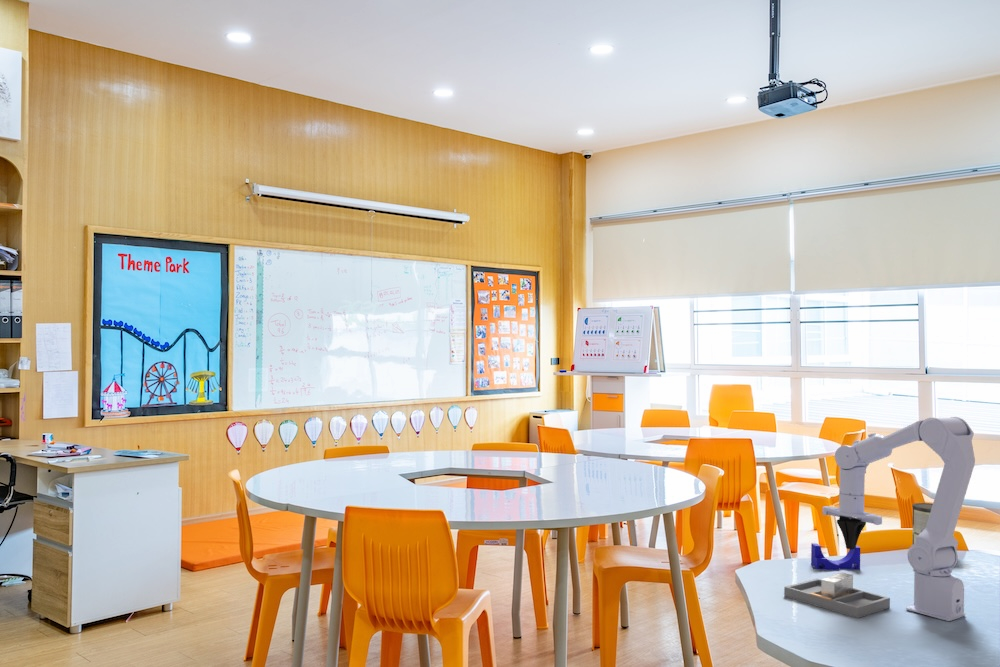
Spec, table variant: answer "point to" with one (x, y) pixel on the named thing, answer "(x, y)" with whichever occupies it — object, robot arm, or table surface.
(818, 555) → the blue arch block
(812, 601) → the bay rack
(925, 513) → the coffee can
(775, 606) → the table surface
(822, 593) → the light grey rectangular block
